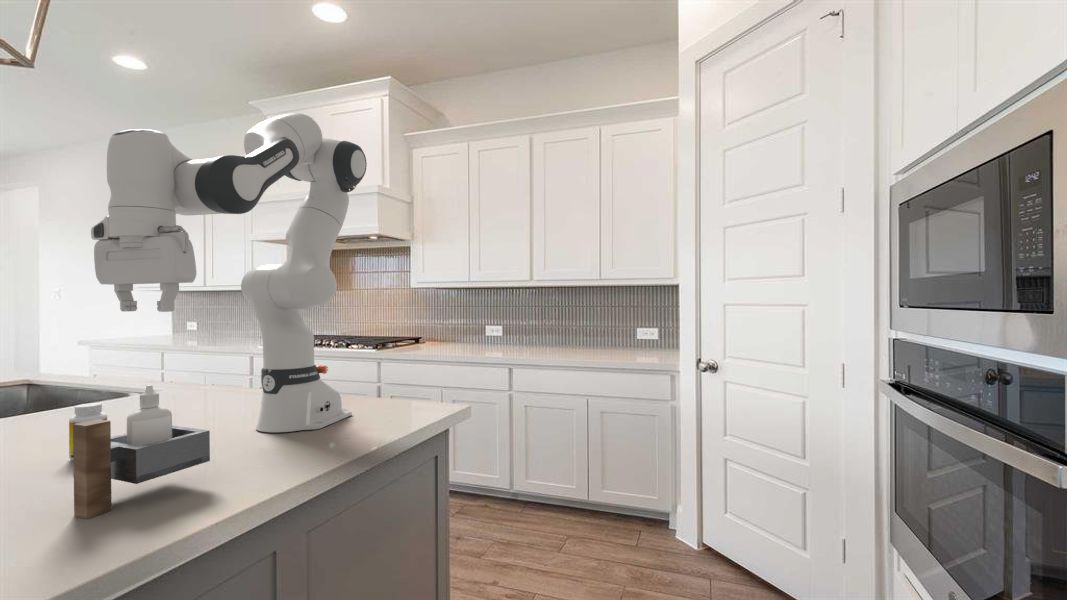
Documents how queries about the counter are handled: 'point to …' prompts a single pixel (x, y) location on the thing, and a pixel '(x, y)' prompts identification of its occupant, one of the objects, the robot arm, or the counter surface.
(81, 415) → the supplement bottle
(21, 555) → the counter surface
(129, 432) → the eye dropper bottle
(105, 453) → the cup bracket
